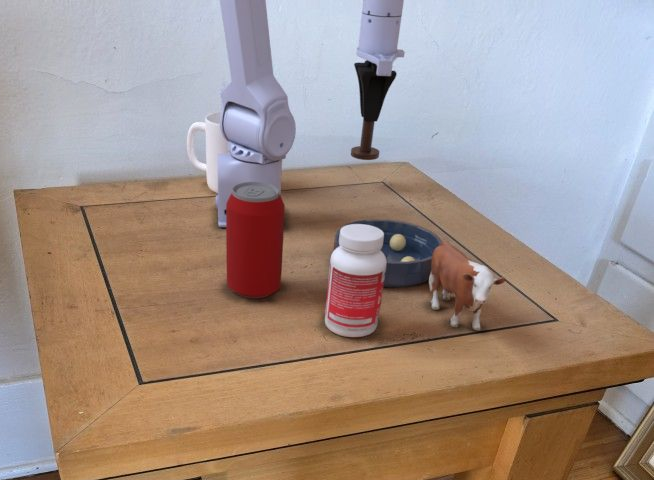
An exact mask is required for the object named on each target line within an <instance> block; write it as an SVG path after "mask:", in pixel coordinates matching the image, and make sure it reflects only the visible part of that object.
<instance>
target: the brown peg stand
mask: <svg viewBox="0 0 654 480" xmlns="http://www.w3.org/2000/svg"><path fill="white" fill-rule="evenodd" d="M374 128H375V121H364V119H362V128H361V136H360V145H359V146H352V147H351V149H350V156H351V157H352V158H354V159H357V160H362V161H374V160H378V158H379V157H380V150H379V149H378V148H375V147H373V145H372V144H373V137H374Z"/></svg>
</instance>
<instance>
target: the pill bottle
mask: <svg viewBox="0 0 654 480" xmlns="http://www.w3.org/2000/svg"><path fill="white" fill-rule="evenodd" d="M345 225H346V224H345ZM343 226H344V225H343ZM343 226H341V227H342V228H341V227H340V228H341V230H340V237H339V245H340V246H339V247H338V248H336V249H335V250H334V251H333V250H332V253H331V255H330V259H329V260H330V261H329V271H328V280H327V291H326V302H325V311H324V324H325V326H326V327H327V329H328V330H329V331H331V332H332V333H333V334H336V335H337V336H341V337H346V338H362V337H366V336H369V335H372V333H374V332H375V331H376V329H377V327H378V323H379V317H380V311H381V306H382V305H381V304H382V299H383V291H384V287H383V285H384V278H385V272H386V264H387V261H386V257H385V255H384V254H383V252H382V251H381V250H380V249H381V248H382V246H383V240H384V233H383V231H382V230H380V229H379V228H377V227H374V226H370V225H365V224H351V225H346V226H344V227H343Z"/></svg>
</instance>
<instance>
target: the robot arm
mask: <svg viewBox="0 0 654 480" xmlns="http://www.w3.org/2000/svg"><path fill="white" fill-rule="evenodd" d="M404 2H405V0H362V7H361V8H362V9H361V18H360V28H359V38H358V46H357V48H356V54H355V55H356V56H357V57H359V58H360V59H364V62H354V64H353V66H354V69H355V72H356V77H357V81H358V88H359V89H358V90H359V108H360V115H361V117H362V118H363V119H364V121H375V122H378V121H379V118H380V115H381V111H382V109H383V106H384V102H385V100H386V96H387V94H388V92H389V90H390V88H391V86H392V84H393V83H394V81H395V79H396V77H397V76H398V75H397V71H396V70H393V64H394V62H395V61H396V60H397V59H399V58H405V53H406V52H405V51H404V50H403V49H399V48H398V47H399V37H400V31H401V24H402V15H403V9H404ZM219 5H220V11H221V17H222V24H223V25H222V26H223V32H224V38H225V45H226V52H227V58H228V64H229V72H230V81H229V82H228V83H227V84H226V85H225V86H224V87H223V88H222V90H221V91H220V99H221V110H220V111H221V115H220V130H221V133H222V135H223V137H224V138H225V140H226V141H227V142H228V150H229V151H231V153H227V154H218V193H217V194H216V195H215V210H217V217H218V219H217V222H218V227H219V228H226V203H227V201H228V199H229V197H230V195H231V193H232V189H233V187H234V186H235V185H237V184H240V183H244V182H263V183H268V184H271V185H274V186H276V187H277V188H278V189H279V194H280V196H281V197H282V195H281V193H282V173H283V172H282V171H283V160H285V159H286V157H287V155H288V153H289V152H290V150H291V149H292V147H293V144H294V142H295V139H296V133H297V131H296V130H297V126H296V121H295V117H294V115H293V113H292V112H291V109H290V105H289V99H288V94H287V93H286V92H285V90H284V89H283V87H282V85H281V84H280V83H279V81H278V80H277V78H276V77H275V75H274V68H273V59H272V50H271V47H272V46H271V40H270V39H271V38H270V30H269V29H270V28H269V21H268V9H267V1H266V0H219ZM363 119H362V120H363ZM375 122H374V123H375Z"/></svg>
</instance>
